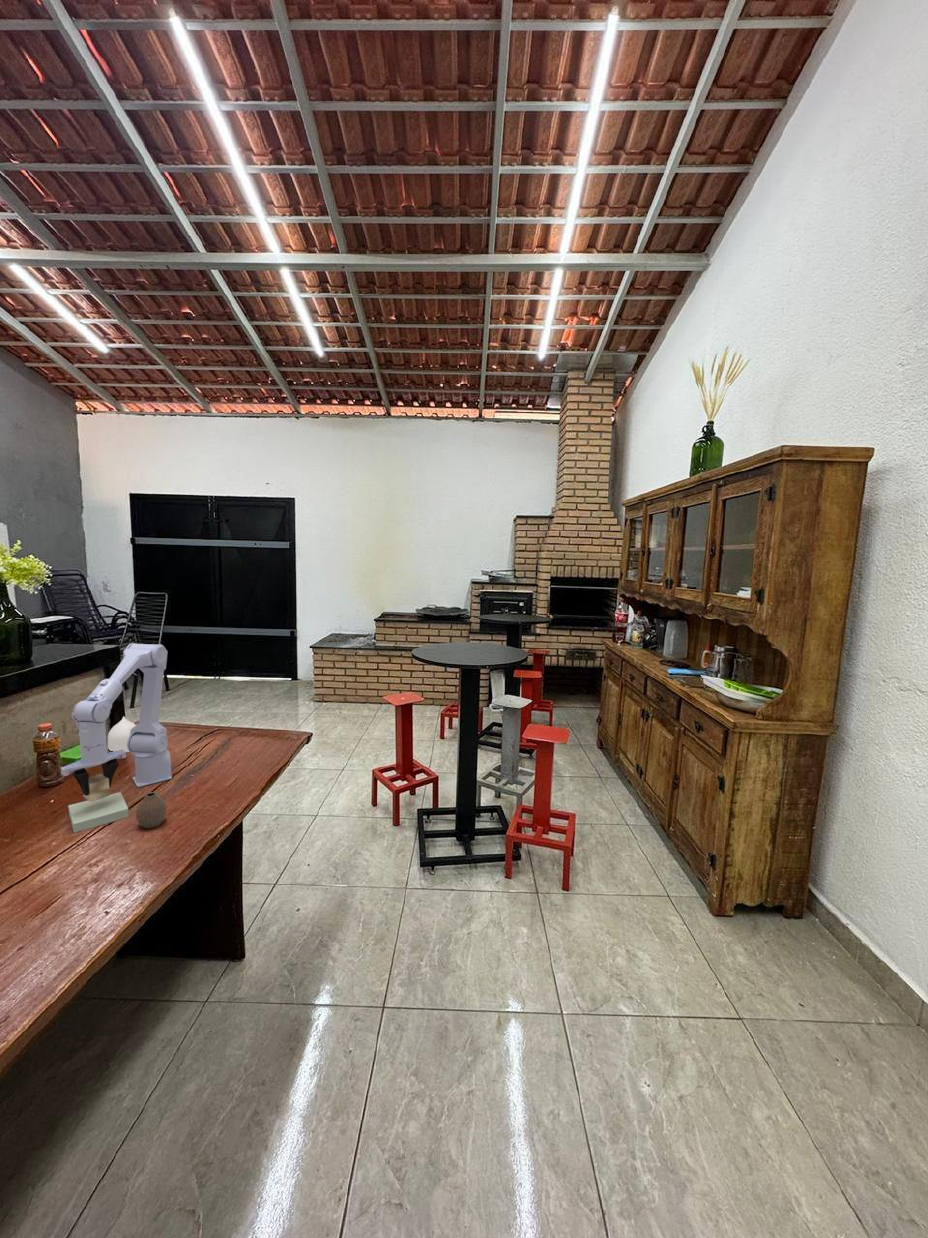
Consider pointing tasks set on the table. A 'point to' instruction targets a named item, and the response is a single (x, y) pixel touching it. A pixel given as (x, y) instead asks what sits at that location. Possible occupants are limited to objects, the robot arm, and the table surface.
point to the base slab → (97, 812)
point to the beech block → (98, 788)
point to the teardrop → (120, 735)
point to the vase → (151, 811)
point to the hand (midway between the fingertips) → (97, 790)
